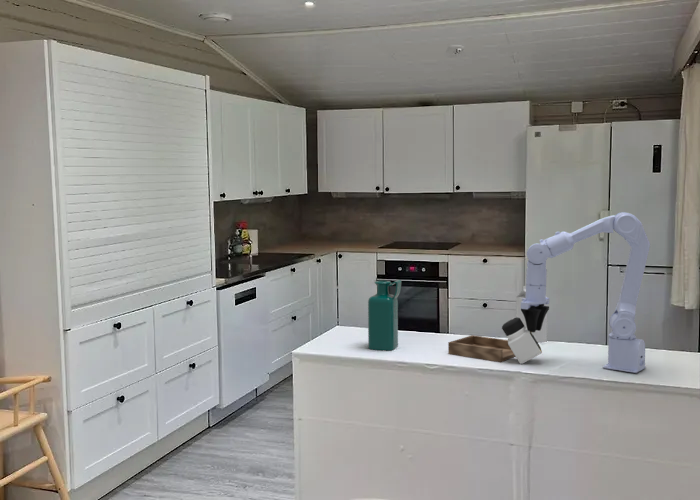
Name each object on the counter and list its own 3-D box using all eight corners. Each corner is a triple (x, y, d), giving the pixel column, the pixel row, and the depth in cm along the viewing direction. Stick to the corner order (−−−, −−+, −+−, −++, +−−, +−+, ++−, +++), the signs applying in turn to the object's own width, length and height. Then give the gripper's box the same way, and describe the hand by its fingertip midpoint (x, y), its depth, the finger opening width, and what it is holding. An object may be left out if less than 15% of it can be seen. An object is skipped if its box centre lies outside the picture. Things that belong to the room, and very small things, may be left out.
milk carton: (515, 341, 235) (516, 285, 234) (532, 339, 238) (532, 283, 237) (530, 345, 229) (530, 287, 227) (547, 343, 232) (547, 285, 231)
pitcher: (366, 350, 224) (366, 281, 223) (374, 344, 232) (373, 278, 231) (396, 351, 221) (396, 282, 220) (403, 346, 229) (402, 279, 228)
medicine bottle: (542, 353, 202) (520, 317, 202) (520, 364, 203) (498, 329, 204) (541, 347, 209) (519, 313, 209) (519, 359, 210) (498, 324, 211)
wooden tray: (523, 353, 217) (523, 342, 216) (500, 362, 206) (500, 350, 206) (472, 346, 228) (472, 335, 228) (448, 353, 218) (448, 342, 217)
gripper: (534, 281, 213) (532, 325, 214) (511, 285, 202) (510, 332, 203) (556, 283, 208) (554, 329, 209) (534, 288, 197) (532, 335, 198)
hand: (534, 330), depth 206 cm, fingers open, 3 cm apart
